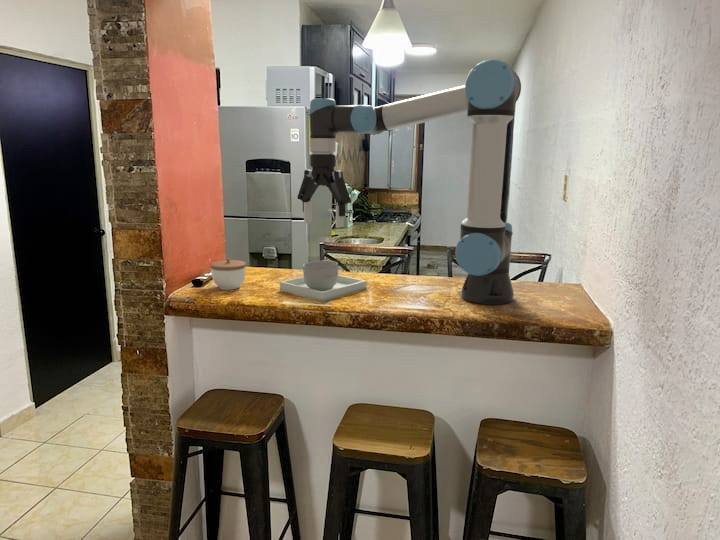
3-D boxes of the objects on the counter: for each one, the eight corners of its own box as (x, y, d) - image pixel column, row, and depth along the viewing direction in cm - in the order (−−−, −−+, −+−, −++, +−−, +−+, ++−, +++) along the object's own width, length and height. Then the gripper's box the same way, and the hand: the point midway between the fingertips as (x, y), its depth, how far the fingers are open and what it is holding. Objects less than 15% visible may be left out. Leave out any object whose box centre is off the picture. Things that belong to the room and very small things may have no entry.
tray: (366, 289, 168) (366, 280, 168) (322, 302, 154) (322, 292, 153) (324, 279, 180) (324, 271, 180) (279, 290, 166) (279, 281, 165)
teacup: (330, 294, 159) (329, 268, 157) (296, 290, 163) (296, 265, 161) (346, 283, 172) (346, 259, 170) (315, 280, 175) (315, 256, 174)
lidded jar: (242, 292, 164) (241, 262, 162) (207, 291, 164) (205, 261, 162) (250, 283, 174) (249, 255, 172) (217, 283, 175) (215, 254, 172)
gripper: (363, 154, 153) (362, 227, 157) (303, 153, 169) (304, 220, 173) (345, 154, 147) (345, 230, 152) (285, 153, 163) (286, 222, 168)
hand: (323, 225), depth 163 cm, fingers open, 13 cm apart
